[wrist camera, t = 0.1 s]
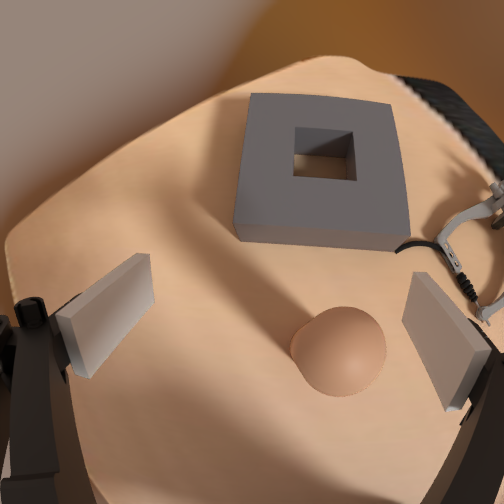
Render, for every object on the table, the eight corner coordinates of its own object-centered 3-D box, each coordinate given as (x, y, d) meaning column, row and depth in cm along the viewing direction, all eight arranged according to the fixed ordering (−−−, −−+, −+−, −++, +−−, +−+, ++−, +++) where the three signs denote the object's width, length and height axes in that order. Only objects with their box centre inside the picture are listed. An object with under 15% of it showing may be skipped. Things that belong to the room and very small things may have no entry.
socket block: (393, 251, 30) (410, 235, 25) (240, 241, 32) (232, 223, 27) (380, 130, 34) (390, 104, 29) (254, 120, 36) (251, 93, 31)
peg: (333, 370, 27) (381, 396, 13) (287, 368, 28) (292, 395, 13) (337, 325, 28) (388, 308, 14) (291, 323, 29) (301, 304, 14)
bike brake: (495, 177, 30) (389, 253, 32) (518, 154, 24) (404, 239, 25) (542, 262, 26) (443, 355, 28) (571, 253, 20) (468, 363, 22)
